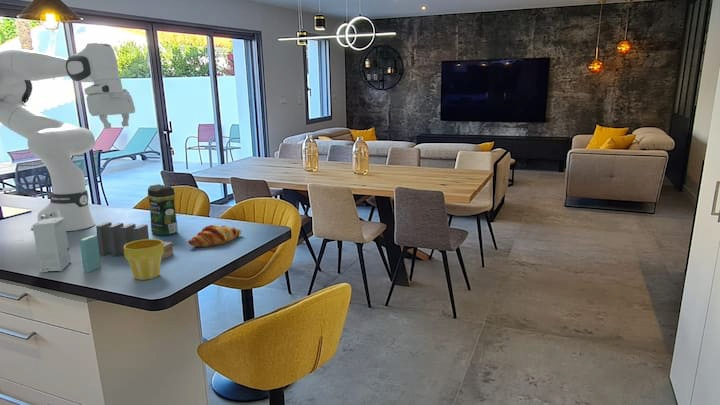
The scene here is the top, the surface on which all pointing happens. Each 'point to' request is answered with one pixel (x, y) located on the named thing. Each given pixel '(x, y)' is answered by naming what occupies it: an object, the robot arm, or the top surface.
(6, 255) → the top surface
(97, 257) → the domino
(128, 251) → the plant pot
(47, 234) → the skincare box
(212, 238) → the croissant
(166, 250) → the end block
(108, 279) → the top surface
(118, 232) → the domino
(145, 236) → the domino
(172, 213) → the coffee jar
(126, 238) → the domino
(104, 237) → the domino
